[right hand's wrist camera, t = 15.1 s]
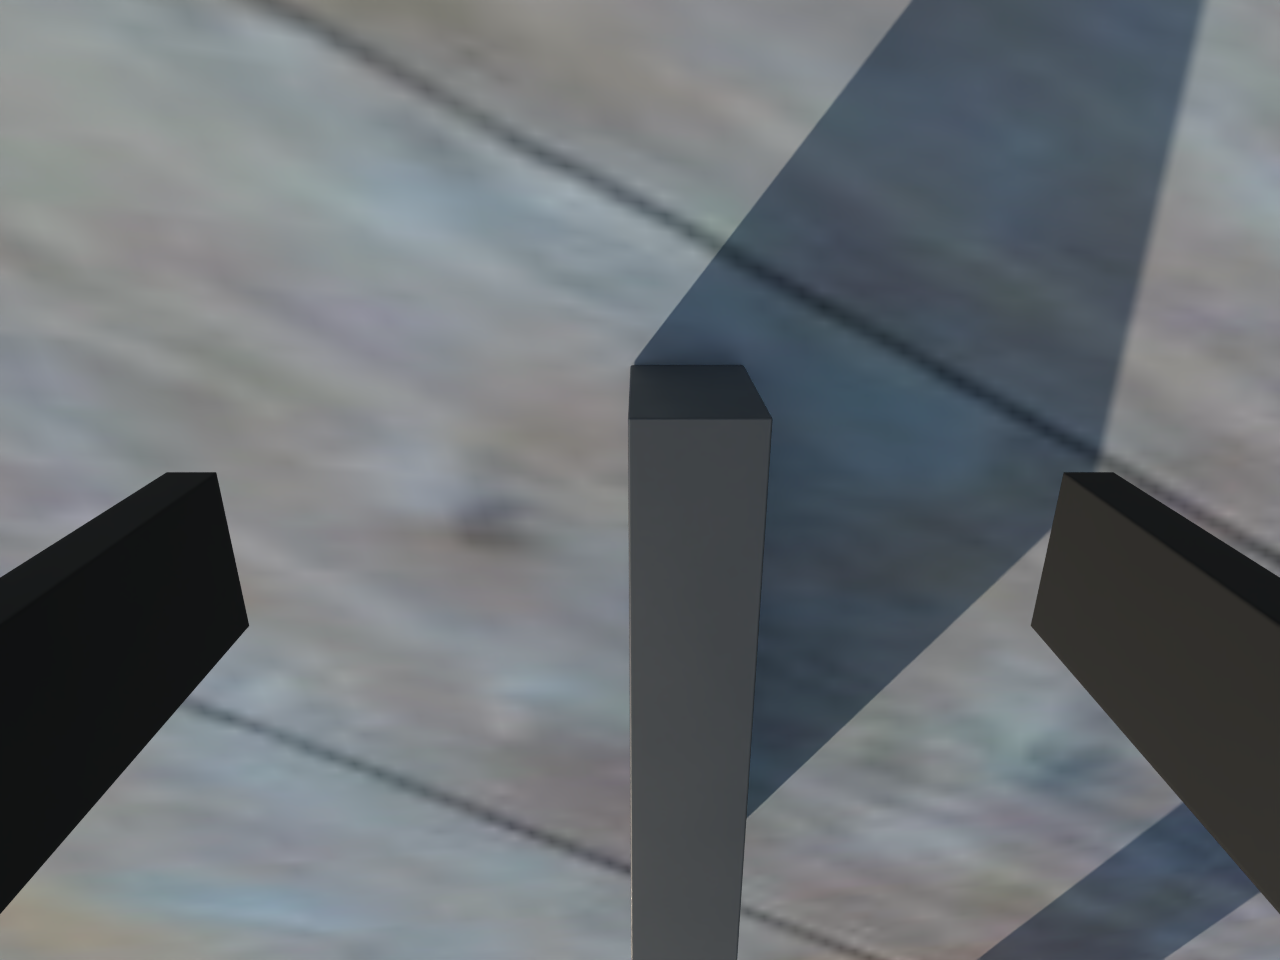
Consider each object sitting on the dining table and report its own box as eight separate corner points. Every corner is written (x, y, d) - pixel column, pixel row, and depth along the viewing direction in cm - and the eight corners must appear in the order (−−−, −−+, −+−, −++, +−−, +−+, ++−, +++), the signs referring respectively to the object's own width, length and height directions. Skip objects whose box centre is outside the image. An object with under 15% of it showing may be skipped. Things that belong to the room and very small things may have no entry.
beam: (630, 364, 34) (628, 418, 27) (743, 364, 34) (772, 418, 27) (632, 845, 45) (631, 980, 37) (719, 845, 45) (736, 979, 37)
